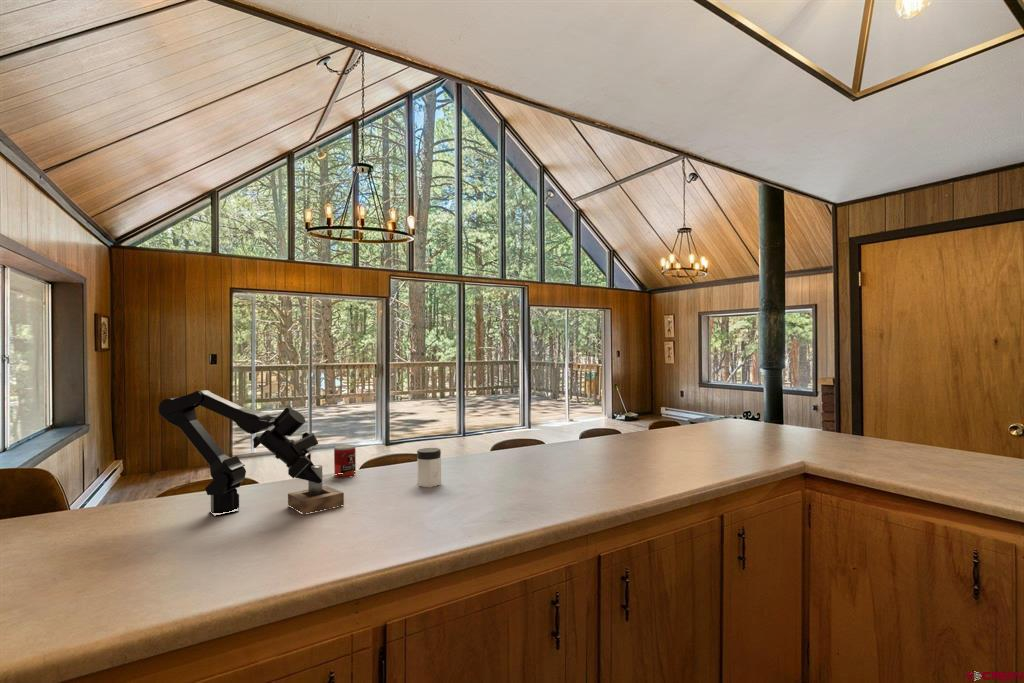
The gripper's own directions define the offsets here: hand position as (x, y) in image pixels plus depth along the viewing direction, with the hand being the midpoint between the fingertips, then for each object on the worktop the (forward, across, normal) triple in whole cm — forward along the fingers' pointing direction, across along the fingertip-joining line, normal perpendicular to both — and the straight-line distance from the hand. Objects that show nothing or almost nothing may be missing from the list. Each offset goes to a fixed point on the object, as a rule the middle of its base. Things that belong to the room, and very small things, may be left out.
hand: (320, 479), depth 151 cm
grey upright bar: (+5, 0, +7) cm, 8 cm away
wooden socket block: (+5, 0, +7) cm, 8 cm away
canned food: (+13, +37, -1) cm, 39 cm away
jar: (+31, +10, -19) cm, 38 cm away
